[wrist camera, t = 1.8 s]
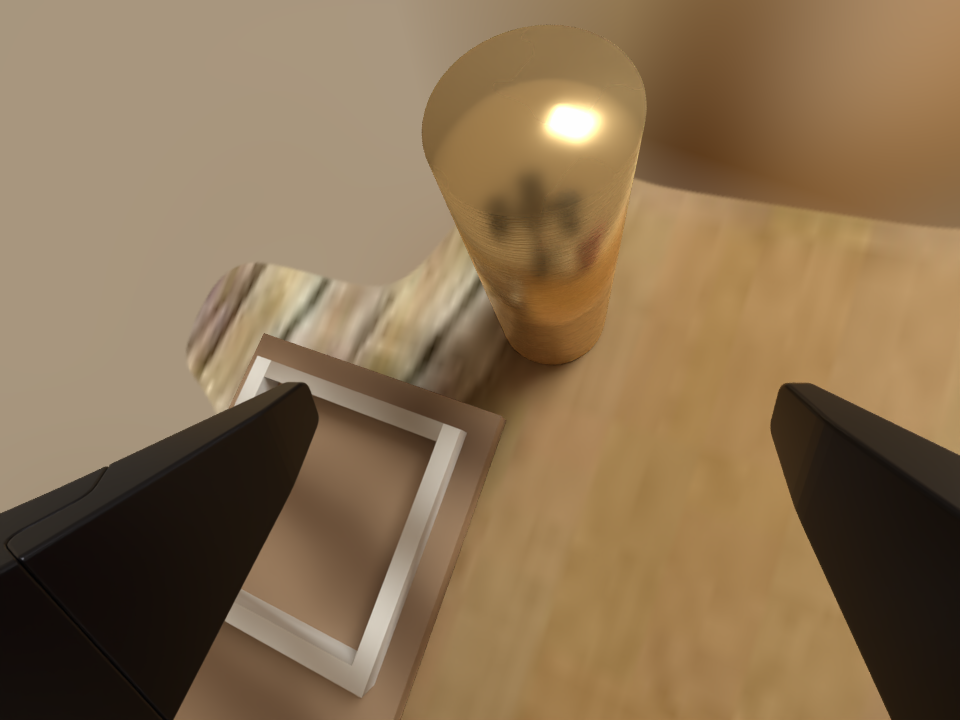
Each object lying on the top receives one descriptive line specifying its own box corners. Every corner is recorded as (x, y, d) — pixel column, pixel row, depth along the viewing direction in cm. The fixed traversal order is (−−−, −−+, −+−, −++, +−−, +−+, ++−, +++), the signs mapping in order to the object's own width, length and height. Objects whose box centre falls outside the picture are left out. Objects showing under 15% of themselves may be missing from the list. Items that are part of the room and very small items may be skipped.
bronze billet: (611, 359, 22) (662, 194, 9) (504, 369, 23) (422, 229, 10) (599, 262, 23) (630, 4, 11) (498, 274, 24) (420, 48, 12)
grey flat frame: (222, 1222, 17) (158, 1358, 14) (-15, 986, 20) (-102, 1061, 17) (506, 420, 22) (497, 411, 19) (281, 341, 25) (248, 325, 23)
